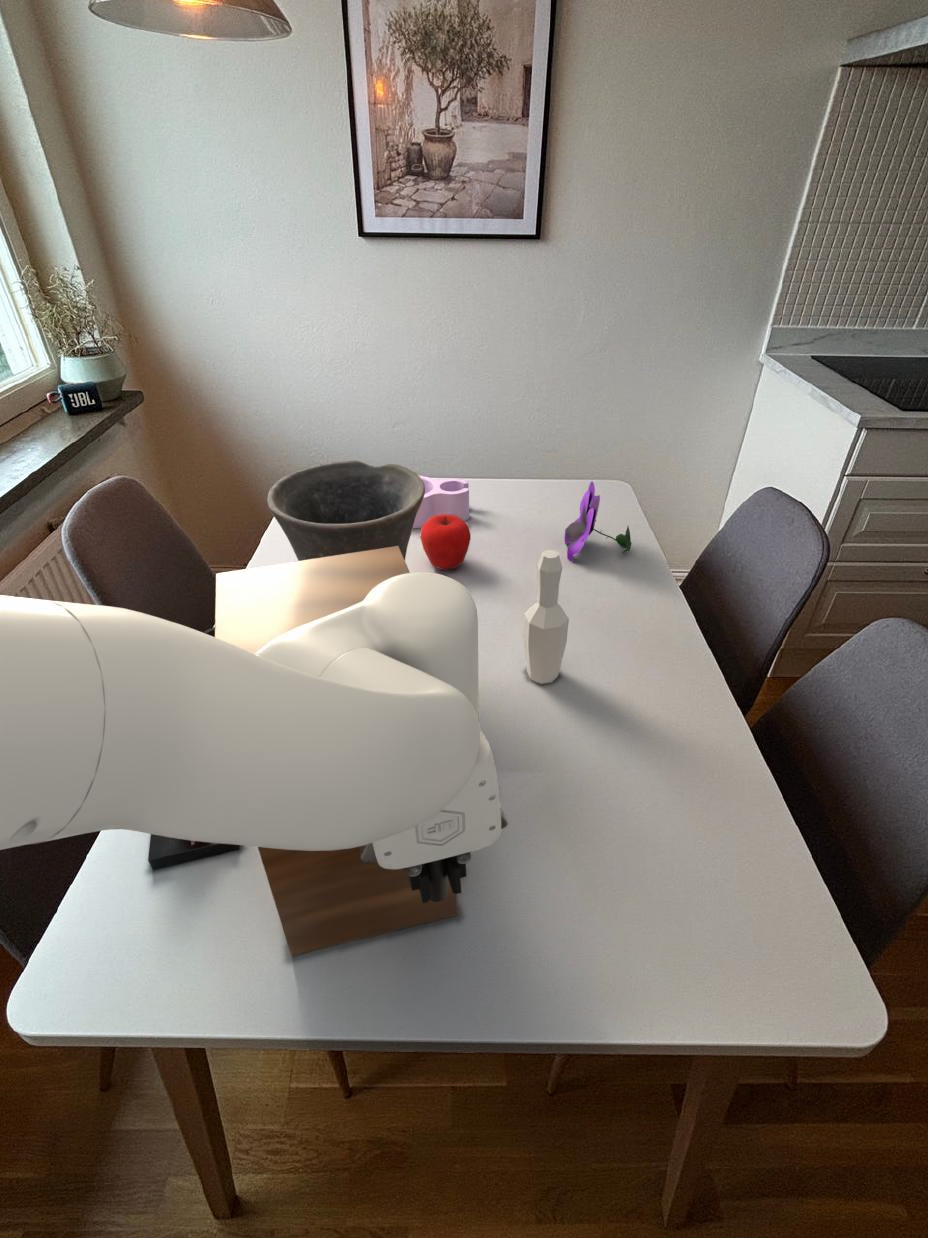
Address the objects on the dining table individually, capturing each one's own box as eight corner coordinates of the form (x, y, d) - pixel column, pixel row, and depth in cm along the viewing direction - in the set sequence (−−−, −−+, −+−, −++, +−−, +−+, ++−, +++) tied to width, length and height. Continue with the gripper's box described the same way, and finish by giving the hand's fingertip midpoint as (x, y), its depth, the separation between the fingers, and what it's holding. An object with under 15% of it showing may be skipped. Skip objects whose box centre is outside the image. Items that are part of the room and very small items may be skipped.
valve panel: (240, 850, 82) (236, 838, 81) (152, 870, 80) (147, 859, 79) (238, 788, 90) (235, 777, 89) (159, 805, 88) (154, 794, 87)
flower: (606, 555, 148) (553, 529, 145) (648, 500, 140) (592, 471, 137) (616, 592, 136) (558, 564, 133) (662, 534, 128) (601, 503, 125)
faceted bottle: (514, 670, 109) (518, 550, 96) (545, 656, 112) (553, 538, 99) (539, 692, 105) (546, 570, 92) (570, 677, 108) (582, 556, 95)
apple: (412, 564, 137) (409, 515, 130) (449, 548, 142) (448, 500, 135) (443, 584, 131) (441, 533, 124) (480, 566, 135) (480, 517, 129)
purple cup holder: (468, 501, 160) (467, 474, 156) (469, 526, 149) (469, 497, 145) (382, 503, 159) (380, 476, 155) (378, 529, 149) (375, 500, 145)
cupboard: (453, 901, 76) (442, 648, 56) (290, 946, 73) (213, 692, 52) (417, 782, 91) (398, 545, 70) (280, 814, 87) (215, 573, 66)
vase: (272, 665, 111) (233, 496, 94) (362, 604, 125) (343, 447, 108) (372, 719, 101) (349, 540, 83) (458, 645, 115) (454, 479, 97)
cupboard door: (472, 972, 70) (468, 718, 49) (294, 1020, 66) (209, 768, 46) (455, 907, 76) (445, 656, 55) (290, 947, 72) (213, 695, 52)
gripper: (321, 800, 45) (353, 948, 55) (549, 749, 48) (538, 898, 59) (311, 722, 51) (342, 870, 61) (514, 681, 54) (510, 828, 65)
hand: (438, 883), depth 60 cm, fingers closed on cupboard door, 2 cm apart
